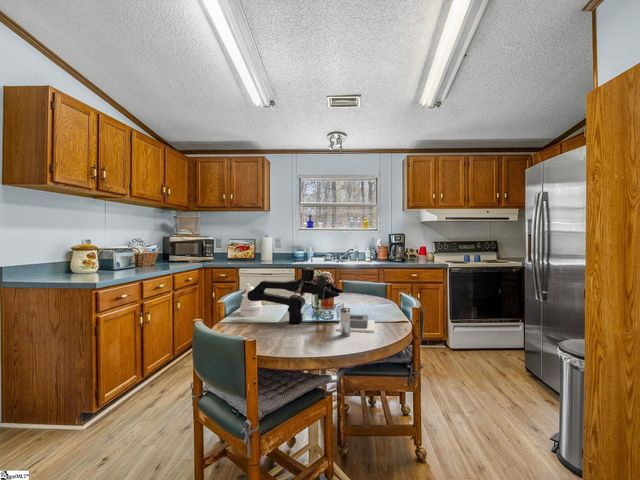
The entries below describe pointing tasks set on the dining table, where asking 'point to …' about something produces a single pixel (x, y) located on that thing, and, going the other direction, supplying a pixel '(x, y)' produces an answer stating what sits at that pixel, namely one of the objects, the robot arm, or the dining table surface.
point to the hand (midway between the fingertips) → (341, 293)
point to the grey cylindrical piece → (345, 322)
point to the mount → (359, 324)
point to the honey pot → (250, 305)
